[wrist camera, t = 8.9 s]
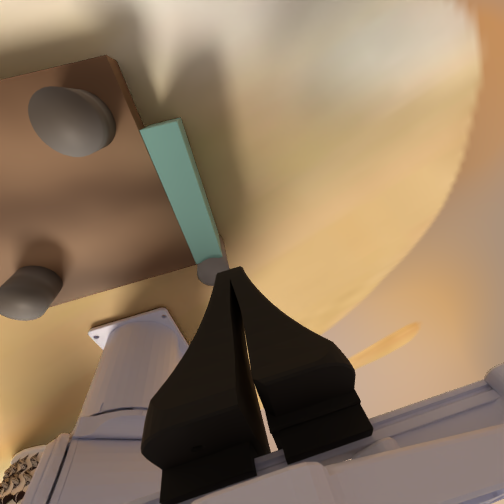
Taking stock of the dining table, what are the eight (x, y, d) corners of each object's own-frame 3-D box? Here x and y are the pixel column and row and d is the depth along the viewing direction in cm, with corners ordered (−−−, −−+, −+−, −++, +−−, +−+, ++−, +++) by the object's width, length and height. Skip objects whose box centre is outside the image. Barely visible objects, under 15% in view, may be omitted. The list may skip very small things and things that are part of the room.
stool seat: (196, 252, 22) (196, 283, 18) (43, 296, 21) (10, 338, 17) (116, 60, 14) (87, 45, 10) (-134, 120, 13) (-266, 126, 9)
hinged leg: (226, 251, 22) (232, 280, 18) (201, 258, 22) (203, 289, 18) (183, 116, 16) (180, 120, 12) (148, 125, 16) (134, 132, 12)
